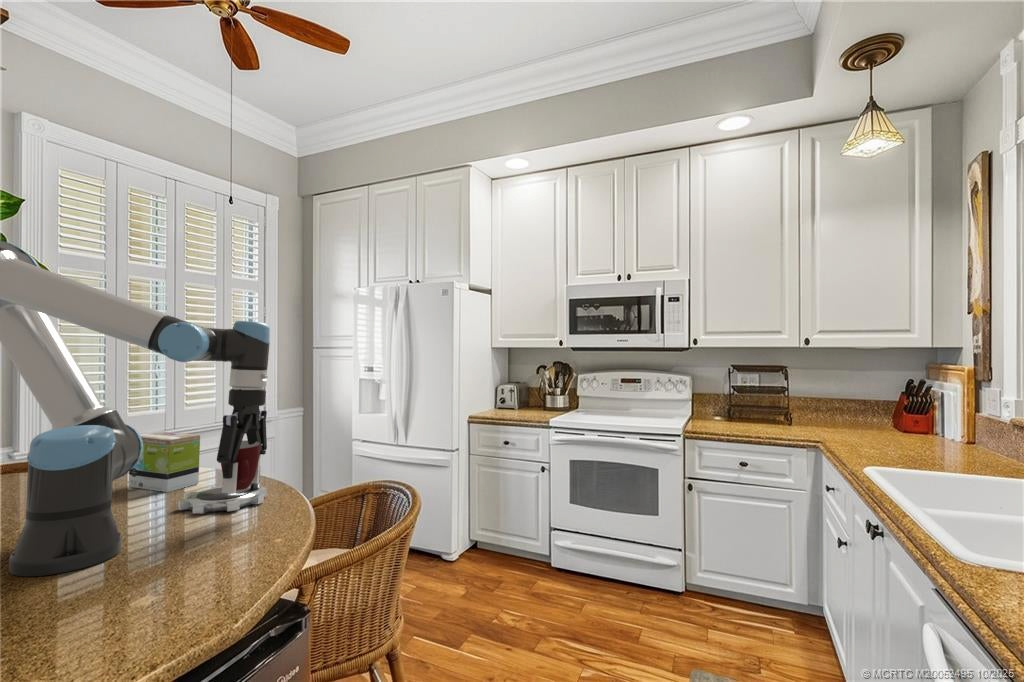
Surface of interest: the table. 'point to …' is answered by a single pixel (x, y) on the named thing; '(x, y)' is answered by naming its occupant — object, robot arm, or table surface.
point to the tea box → (167, 462)
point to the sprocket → (222, 499)
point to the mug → (246, 464)
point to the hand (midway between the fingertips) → (241, 487)
